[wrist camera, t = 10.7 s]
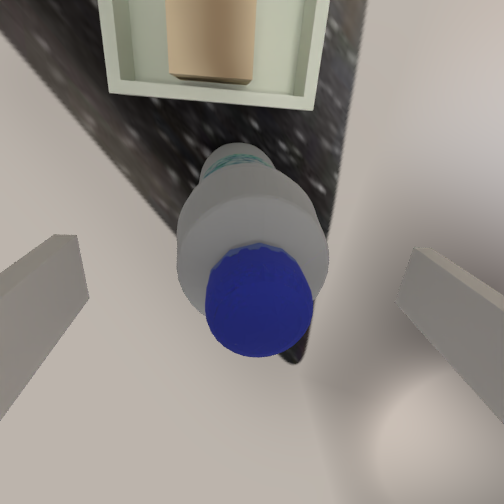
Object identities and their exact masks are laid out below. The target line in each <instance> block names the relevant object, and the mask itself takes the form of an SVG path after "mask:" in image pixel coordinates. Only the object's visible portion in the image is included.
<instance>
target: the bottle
mask: <svg viewBox="0 0 504 504" xmlns="http://www.w3.org/2000/svg"><path fill="white" fill-rule="evenodd" d="M328 265H329V250H328V244H327V241H326V238H325V235H324V233H323V230H322V228H321V225H320V223H319V221H318V218H317V216H316V212H315V209H314V207H313V204H312V202H311V200H310V199H309V197H308V196H307V194H306V193H305V192H304V191H303V190H302V188H301V187H300V186H299V185H298V184H297V183H295V182H294V181H293V180H291V179H290V178H289V177H287V176H286V175H284V174H283V173H281V172H280V171H278V170H276V169H275V167H274V165H273V163H272V162H271V160H270V159H269V157H268V156H267V155H266V154H265V153H264V152H263V151H261V150H260V149H258V148H257V147H255V146H253V145H250V144H246V143H229V144H225V145H223V146H221V147H219V148H218V149H216V150H215V151H214V152H213V153H212V154H211V155H210V156H209V157H208V158H207V160H206V161H205V163H204V165H203V167H202V170H201V174H200V180H199V184H198V185H197V186H196V187H195V189H194V190H193V191H192V193H191V194H190V196H189V198H188V199H187V201H186V202H185V204H184V206H183V208H182V210H181V213H180V216H179V219H178V225H177V272H178V279H179V282H180V285H181V287H182V290H183V292H184V294H185V295H186V297H187V298H188V300H189V301H190V303H191V304H192V305H193V306H194V307H195V308H196V309H197V310H198V311H199V312H200V313H201V314H203V315H205V316H206V319H207V322H208V325H209V327H210V330H211V332H212V334H213V335H214V336H215V338H216V339H217V341H218V342H220V343H221V344H222V345H223V346H224V347H226V348H227V349H229V350H231V351H233V352H234V353H237V354H240V355H243V356H248V357H267V356H272V355H276V354H278V353H281V352H283V351H285V350H287V349H289V348H290V347H292V346H293V345H294V344H295V343H297V342H298V341H299V339H300V338H301V337H302V336H303V335H304V333H305V332H306V330H307V328H308V326H309V325H310V322H311V318H312V314H313V300H314V299H315V298H316V297H317V295H318V293H319V292H320V290H321V288H322V286H323V284H324V281H325V278H326V275H327V272H328Z"/></svg>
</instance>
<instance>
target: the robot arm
mask: <svg viewBox="0 0 504 504" xmlns="http://www.w3.org/2000/svg"><path fill="white" fill-rule="evenodd" d="M88 299H89V294H88V289H87V284H86V279H85V274H84V269H83V264H82V259H81V254H80V249H79V244H78V239H77V235H57V234H55V235H53V236H51V237H50V238H49V239H47V240H46V241H44V242H43V243H42V244H40V245H39V246H38V247H36V248H35V249H33V250H32V251H31V252H29V253H28V254H27V255H25V256H24V257H22V258H21V259H19V260H18V261H17V262H15V263H14V264H12V265H11V266H10V267H8V268H7V269H5V270H4V271H3V272H1V273H0V421H1V419H2V418H3V416H4V415H5V414H6V412H7V411H8V410H9V408H10V407H11V405H12V404H13V403H14V401H15V400H16V399H17V397H18V395H19V394H20V393H21V392H22V390H23V389H24V388H25V386H26V385H27V383H28V382H29V381H30V379H31V378H32V376H33V375H34V374H35V372H36V371H37V370H38V368H39V367H40V366H41V364H42V363H43V361H44V360H45V359H46V357H47V356H48V355H49V353H50V352H51V350H52V349H53V347H54V346H55V345H56V344H57V342H58V341H59V339H60V338H61V336H62V335H63V334H64V333H65V331H66V330H67V328H68V327H69V326H70V324H71V323H72V322H73V320H74V319H75V317H76V316H77V314H78V313H79V312H80V311H81V309H82V308H83V306H84V305H85V304H86V302H87V301H88ZM395 303H396V304H397V306H398V307H399V308H400V309H401V310H402V311H403V312H404V313H405V314H406V316H407V317H408V318H409V319H410V320H411V321H412V322H413V323H414V325H415V326H416V327H417V328H418V329H419V330H420V331H421V332H422V334H423V335H424V336H425V337H426V338H427V339H428V340H429V341H430V343H431V344H432V345H433V346H434V347H435V348H436V349H437V350H438V352H439V353H440V354H441V355H442V356H443V357H444V358H445V359H446V360H447V362H448V363H449V364H450V365H451V366H452V367H453V368H454V369H455V371H456V372H457V373H458V374H459V375H460V376H461V377H462V378H463V380H464V381H465V382H466V383H467V384H468V385H469V386H470V387H471V388H472V390H473V391H474V392H475V393H476V394H477V395H478V396H479V397H480V399H482V401H483V402H484V403H485V404H486V405H487V406H488V407H489V409H490V410H491V411H492V412H493V413H494V414H495V415H496V416H497V418H498V419H499V420H500V421H501V422H502V423H503V424H504V296H503V295H502V294H500V293H499V292H497V291H496V290H494V289H493V288H491V287H490V286H488V285H487V284H485V283H483V282H482V281H480V280H479V279H478V278H476V277H475V276H473V275H471V274H469V273H468V272H467V271H465V270H464V269H462V268H461V267H459V266H458V265H456V264H455V263H453V262H452V261H450V260H449V259H447V258H446V257H444V256H442V255H441V254H440V253H438V252H436V251H435V250H433V249H432V248H420V247H414V248H413V251H412V254H411V257H410V260H409V263H408V266H407V268H406V271H405V274H404V277H403V280H402V283H401V286H400V289H399V291H398V294H397V298H396V300H395Z"/></svg>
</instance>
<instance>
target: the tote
mask: <svg viewBox="0 0 504 504" xmlns="http://www.w3.org/2000/svg"><path fill="white" fill-rule="evenodd" d="M329 3H330V0H257V5H256V23H255V41H254V59H253V77H252V81H251V82H250V83H249V84H248V85H237V84H224V83H212V82H199V81H186V80H180V79H178V78H176V77H175V76H173V75H171V74H170V73H169V64H168V45H167V27H166V8H165V0H98V7H99V15H100V23H101V31H102V39H103V48H104V56H105V64H106V72H107V80H108V88H109V93H114V94H122V95H131V96H143V97H154V98H166V99H177V100H189V101H200V102H212V103H223V104H235V105H246V106H257V107H269V108H280V109H292V110H308V111H313V108H314V101H315V95H316V88H317V82H318V75H319V69H320V62H321V55H322V49H323V42H324V36H325V29H326V23H327V16H328V10H329Z"/></svg>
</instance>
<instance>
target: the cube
mask: <svg viewBox="0 0 504 504" xmlns="http://www.w3.org/2000/svg"><path fill="white" fill-rule="evenodd" d="M256 5H257V0H165V8H166V27H167V45H168V64H169V73H170V74H171V75H173V76H175V77H176V78H178V79H180V80H186V81H199V82H212V83H224V84H237V85H248V84H249V83H250V82H251V81H252V77H253V59H254V41H255V23H256Z"/></svg>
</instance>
